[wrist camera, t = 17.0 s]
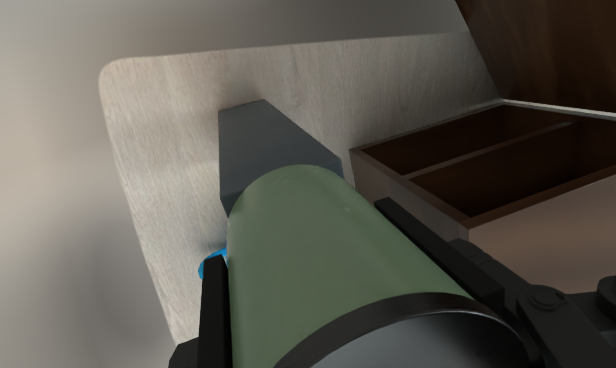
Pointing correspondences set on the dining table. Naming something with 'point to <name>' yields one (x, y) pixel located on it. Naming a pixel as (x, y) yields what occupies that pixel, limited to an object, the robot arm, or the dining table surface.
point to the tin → (345, 286)
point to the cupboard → (509, 188)
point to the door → (548, 49)
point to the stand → (263, 148)
